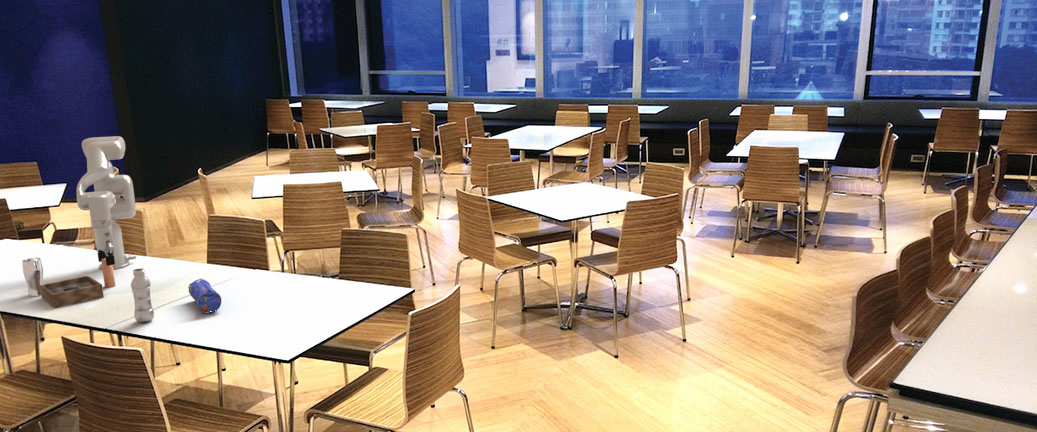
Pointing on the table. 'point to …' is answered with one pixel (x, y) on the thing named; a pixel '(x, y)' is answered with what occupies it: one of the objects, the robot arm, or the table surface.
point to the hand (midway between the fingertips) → (106, 263)
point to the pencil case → (204, 295)
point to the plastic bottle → (142, 296)
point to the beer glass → (33, 275)
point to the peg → (108, 274)
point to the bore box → (71, 291)
